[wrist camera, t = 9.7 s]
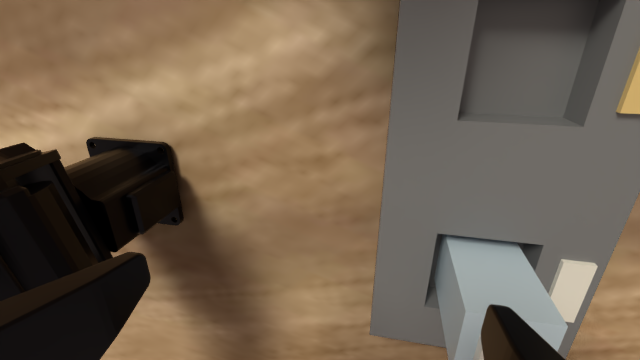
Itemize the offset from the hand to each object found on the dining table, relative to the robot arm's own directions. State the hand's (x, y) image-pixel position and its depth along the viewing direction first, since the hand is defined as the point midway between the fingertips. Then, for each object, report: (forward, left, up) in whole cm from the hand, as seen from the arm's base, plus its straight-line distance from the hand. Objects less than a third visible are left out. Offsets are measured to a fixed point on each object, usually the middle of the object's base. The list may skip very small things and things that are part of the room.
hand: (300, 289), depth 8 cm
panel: (+8, -1, -13) cm, 15 cm away
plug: (+8, -7, -12) cm, 16 cm away
